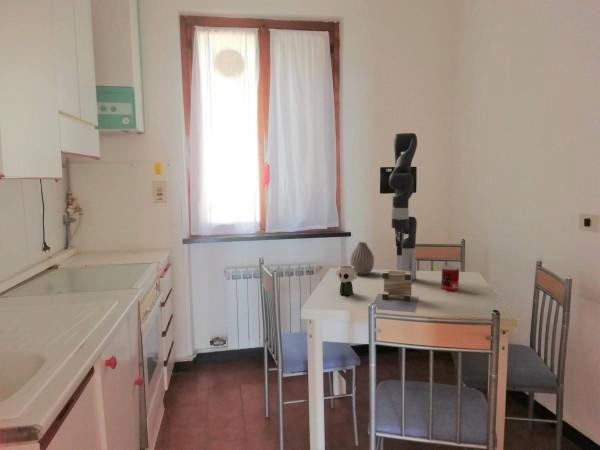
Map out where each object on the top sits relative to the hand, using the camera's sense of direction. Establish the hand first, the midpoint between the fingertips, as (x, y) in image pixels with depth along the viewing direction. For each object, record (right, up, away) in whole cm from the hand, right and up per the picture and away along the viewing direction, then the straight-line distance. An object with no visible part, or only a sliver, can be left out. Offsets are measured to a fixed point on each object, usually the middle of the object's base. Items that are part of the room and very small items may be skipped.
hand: (399, 255), depth 204 cm
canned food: (+27, -17, +10) cm, 33 cm away
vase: (-11, -13, +44) cm, 47 cm away
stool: (-2, -19, -6) cm, 20 cm away
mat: (-4, -20, -11) cm, 23 cm away
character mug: (-24, -19, +3) cm, 30 cm away
